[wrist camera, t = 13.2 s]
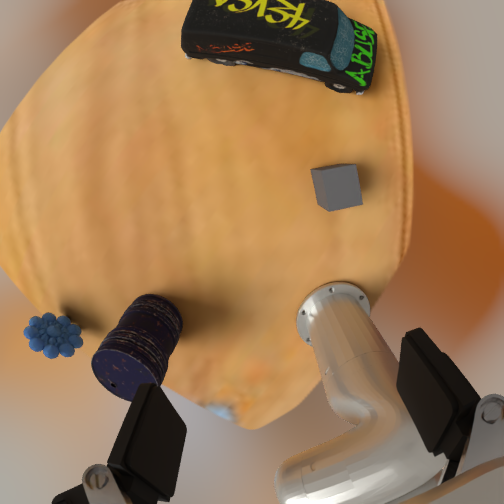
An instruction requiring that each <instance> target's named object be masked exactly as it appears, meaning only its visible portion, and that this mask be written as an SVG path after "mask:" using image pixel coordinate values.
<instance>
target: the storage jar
mask: <svg viewBox="0 0 504 504" xmlns="http://www.w3.org/2000/svg"><path fill="white" fill-rule="evenodd" d="M182 327H183V321H182V317H181V314H180V312H179V311H178V309H177V308H176V307H175V305H174V304H173V303H171V302H170V301H169V300H167V299H166V298H164V297H161V296H159V295H154V294H145V295H142V296H140V297H138V298H137V299H135V300H134V302H133V303H132V304H131V305H130V306H129V307H128V308H127V310H126V311H125V312H124V314H123V316H122V317H121V319H120V321H119V324H118V325H117V326H116V328H115V329H113V330H112V331H111V332H109V334H108V335H107V336H106V338H105V339H104V340H103V342H102V343H101V345H100V347H99V348H98V350H97V351H96V353H95V354H94V355H93V357H92V361H91V366H92V370H93V373H94V375H95V376H96V378H97V379H98V381H99V382H100V383H101V384H102V385H103V386H104V387H105V388H106V389H107V390H108V391H110V392H111V393H112V394H114V395H116V396H117V397H119V398H121V399H124V400H127V401H130V402H132V400H133V398H134V396H135V394H136V391H137V389H138V387H139V385H140V384H141V383H155V384H156V385H157V386H161V384H162V382H163V380H164V377H165V374H166V372H167V369H168V360H169V357H170V355H171V354H172V353H173V351H174V349H175V347H176V345H177V343H178V340H179V336H180V333H181V331H182Z"/></svg>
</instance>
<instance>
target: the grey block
mask: <svg viewBox="0 0 504 504" xmlns="http://www.w3.org/2000/svg"><path fill="white" fill-rule="evenodd" d="M310 170H311V174H312V179H313V183H314V188H315V193H316V198H317V203H318V205H320V206H321V207H323V208H324V209H326V210H327V211H329V212H330V211H335V210H340V209H344V208H349V207H353V206H358V205H363V202H362V196H361V190H360V184H359V178H358V173H357V167H356V164H336V165H331V166H325V167H320V168H315V169H310Z"/></svg>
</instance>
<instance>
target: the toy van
mask: <svg viewBox="0 0 504 504" xmlns="http://www.w3.org/2000/svg"><path fill="white" fill-rule="evenodd" d="M181 48H182V49H183V51H184V52H185V53H186V54H185V57H186V58H187V59H192V58H197V59H203V58H207V59H208V60H209V61H211V62H213V63H216V64H223V65H225V66H234V65H235V64H236V63H237V64H243V65H248V66H253V67H258V68H263V69H268V70H274V71H279V72H284V73H289V74H293V75H298V76H302V77H306V78H310V79H314V80H318V81H321V82H325V86H326V87H328V88H329V89H332V90H334V91H336V92H339V93H351V92H352V91H353V90H355V91H356V95H361V94H363V93H364V90H367V89H368V88H369V86H370V85H371V81H372V76H373V72H374V67H375V61H376V52H377V34H376V33H375V32H374V31H373V30H372V29H371V28H369V27H367V26H365V25H363V24H361V23H359V22H357V21H355V20H353V19H350V18H348V17H347V16H346V15H345V14H344V13H343V11H342V10H341V9H340V8H339V7H338V6H337V5H336V4H334V3H332V2H329V1H326V0H192V3H191V6H190V8H189V10H188V13H187V15H186V18H185V21H184V23H183V26H182V30H181ZM190 57H191V58H190Z"/></svg>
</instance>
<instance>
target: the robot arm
mask: <svg viewBox="0 0 504 504" xmlns="http://www.w3.org/2000/svg"><path fill="white" fill-rule="evenodd" d="M330 288H331V289H330ZM303 310H304V311H303ZM369 317H370V303H369V300H368V298H367V296H366V295H365V294H364V292H363V291H362V290H361V289H360V288H358V287H357V286H355V285H353V284H350V283H346V282H333V283H328V284H325V285H323V286H320V287H319V288H317V289H315V290H314V291H312V292H311V293H310V294H309V295H308V296H307V297H306V298H305V299H304V300H303V302H302V303H301V305H300V307H299V309H298V312H297V317H296V326H297V330H298V333H299V335H300V337H301V338H302V339H303V341H304V342H306V343H307V344H308V345H310V346H312V347H313V349H314V353H315V356H316V360H317V363H318V367H319V370H320V374H321V377H322V381H323V384H324V388H325V391H326V395H327V399H328V402H329V404H330V407H331V408H332V410H333V411H334V412H335V413H336V414H337V415H338V416H339V417H340V418H342V419H343V420H345V421H347V422H349V423H352V424H354V425H357V426H356V427H354V428H353V429H351V430H349V431H347V432H345V433H344V434H342V435H340V436H338V437H336V438H334V439H331V440H329V441H327V442H325V443H322V444H320V445H318V446H316V447H313V448H310V449H308V450H306V451H303V452H301V453H299V454H296V455H294V456H292V457H290V458H289V459H287V460H286V461H284V462H283V463H282V464H281V465H280V467H279V468H278V470H277V472H276V474H275V479H274V486H275V492H276V495H277V498H278V500H279V503H280V504H504V397H503V396H501V395H498V394H490V395H487V396H485V397H484V398H482V399H481V398H480V396H479V395H478V394H477V392H476V391H475V390H474V388H473V387H472V386H471V384H470V383H469V382H468V380H467V379H466V378H465V376H464V375H463V374H462V373H461V371H460V370H459V369H458V367H457V366H456V365H455V364H454V362H453V361H452V360H451V359H450V358H449V356H447V354H445V353H443V352H441V351H440V350H439V348H438V347H437V346H436V345H435V343H434V342H433V341H432V340H431V339H430V338H429V337H428V335H427V334H426V333H425V332H424V331H423V329H422V328H416V329H414V330H411V331H408V332H406V334H405V337H403V338H402V343H401V352H400V361H399V362H398V361H397V359H396V358H395V356H394V354H393V353H392V351H391V349H390V348H389V346H388V345H387V343H386V342H385V340H384V339H383V337H382V336H381V334H380V333H379V331H378V330H377V328H376V327H375V325H374V324H373V322H372V321H371V319H370V318H369ZM186 433H187V428H186V425H185V423H184V422H183V420H182V419H181V417H180V416H179V414H178V413H177V412H176V410H175V409H174V407H173V406H172V404H171V403H170V401H169V400H168V398H167V397H166V395H165V393H164V392H163V390H162V389H161V387H160V386H157V385H156V384H155V383H141V384H140V385H139V387H138V389H137V391H136V394H135V396H134V398H133V400H132V403H131V405H130V407H129V410H128V412H127V414H126V417H125V419H124V421H123V424H122V427H121V429H120V431H119V434H118V436H117V438H116V441H115V443H114V446H113V448H112V451H111V453H110V456H109V458H108V461H107V463H108V464H107V466H105V465H102V464H95V465H92V466H90V467H88V468H87V469H86V471H85V472H84V474H83V477H82V484H80V485H78V486H76V487H74V488H72V489H70V490H67V491H65V492H63V493H61V494H58V495H57V496H55V498H54V499H53V501H52V504H157V501H164V502H169V501H170V497H172V496H173V495H174V492H175V487H176V481H177V477H178V472H179V467H180V462H181V456H182V452H183V447H184V442H185V437H186ZM444 465H445V467H444ZM443 467H444V469H442V468H443Z"/></svg>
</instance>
